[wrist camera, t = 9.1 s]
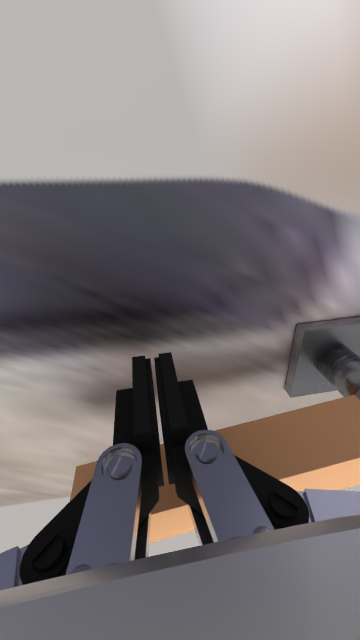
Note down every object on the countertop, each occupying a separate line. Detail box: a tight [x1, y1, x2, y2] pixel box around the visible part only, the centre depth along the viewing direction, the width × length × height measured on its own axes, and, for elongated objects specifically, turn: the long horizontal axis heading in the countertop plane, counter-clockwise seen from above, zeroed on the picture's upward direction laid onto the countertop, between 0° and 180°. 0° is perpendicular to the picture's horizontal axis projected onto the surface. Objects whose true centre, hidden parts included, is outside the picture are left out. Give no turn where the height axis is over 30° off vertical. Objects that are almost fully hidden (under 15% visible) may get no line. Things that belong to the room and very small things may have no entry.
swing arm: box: [70, 390, 360, 543], centre depth 12 cm, size 17×4×3 cm, turn 100°
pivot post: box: [285, 317, 360, 397], centre depth 16 cm, size 5×5×4 cm
